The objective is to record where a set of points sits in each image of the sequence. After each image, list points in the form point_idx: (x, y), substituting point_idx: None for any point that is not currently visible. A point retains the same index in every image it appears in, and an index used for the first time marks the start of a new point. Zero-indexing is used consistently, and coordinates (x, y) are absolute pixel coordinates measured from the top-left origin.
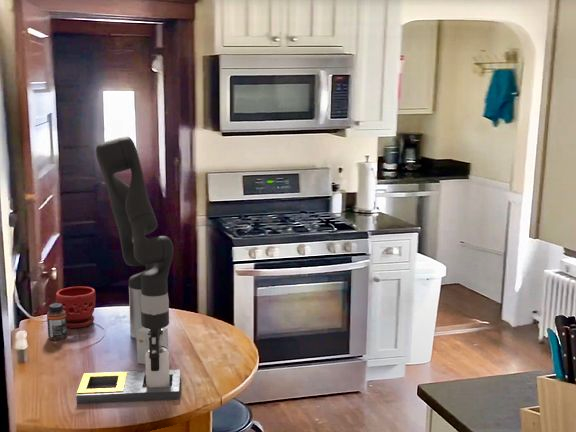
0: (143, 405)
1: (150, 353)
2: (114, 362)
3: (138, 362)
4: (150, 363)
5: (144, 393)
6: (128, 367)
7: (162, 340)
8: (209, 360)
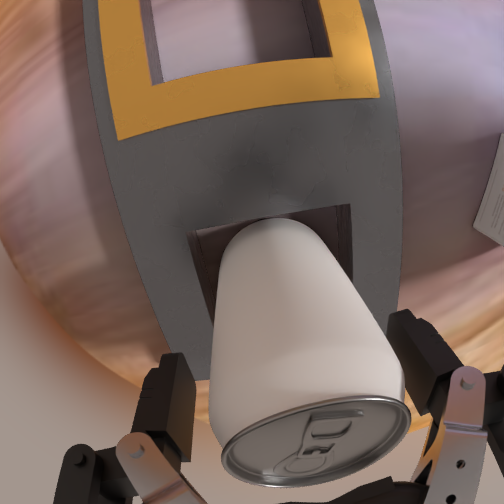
0: (112, 244)
1: (63, 488)
2: (497, 46)
3: (501, 137)
4: (214, 363)
5: (136, 256)
6: (474, 96)
7: (411, 479)
8: (465, 356)
